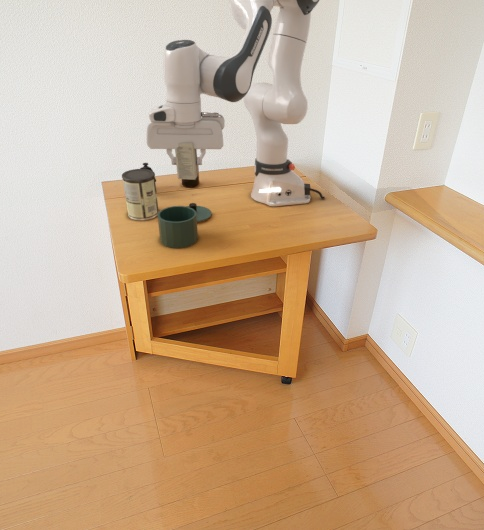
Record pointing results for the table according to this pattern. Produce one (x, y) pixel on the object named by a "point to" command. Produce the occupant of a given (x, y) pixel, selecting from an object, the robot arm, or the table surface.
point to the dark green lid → (200, 212)
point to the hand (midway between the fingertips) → (186, 164)
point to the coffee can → (140, 194)
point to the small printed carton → (186, 161)
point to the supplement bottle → (191, 182)
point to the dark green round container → (178, 226)
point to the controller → (146, 167)
